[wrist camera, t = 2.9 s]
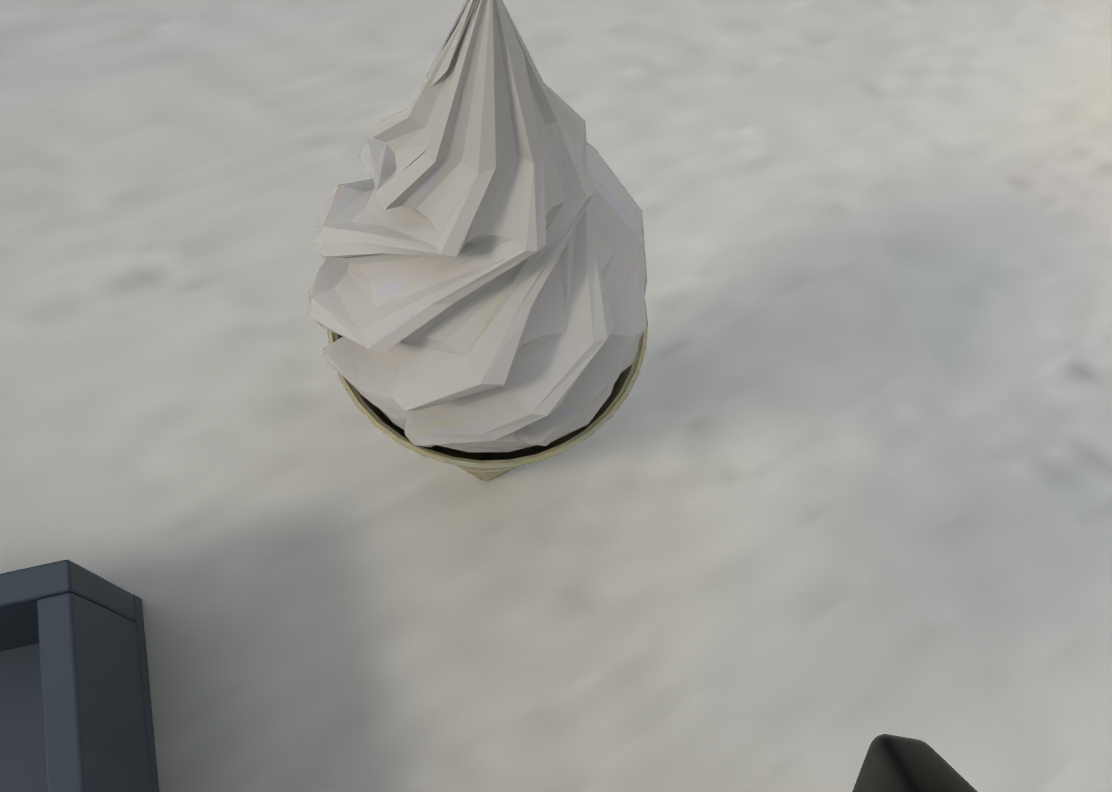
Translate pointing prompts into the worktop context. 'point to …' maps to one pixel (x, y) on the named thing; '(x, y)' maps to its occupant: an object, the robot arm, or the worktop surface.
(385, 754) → the worktop surface
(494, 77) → the ice cream cone
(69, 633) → the tub
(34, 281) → the worktop surface
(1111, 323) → the worktop surface
